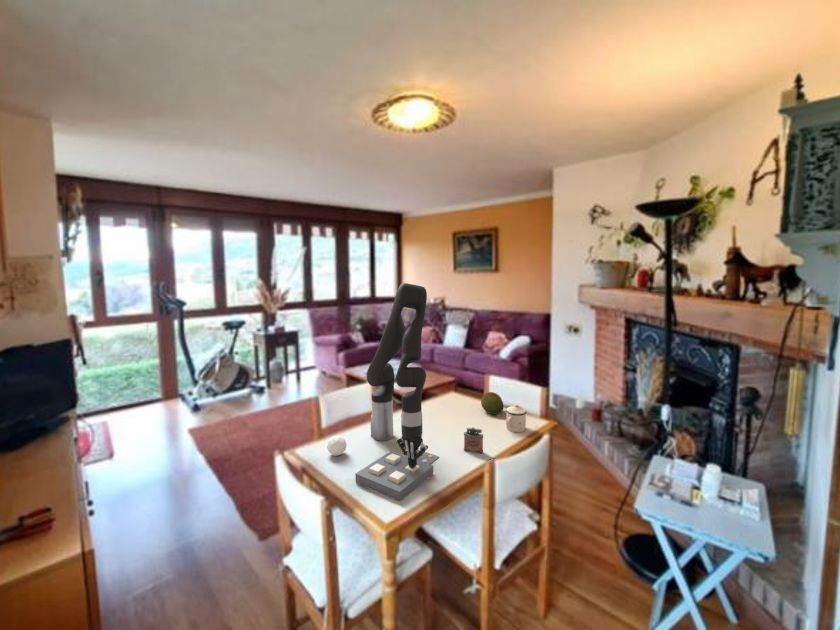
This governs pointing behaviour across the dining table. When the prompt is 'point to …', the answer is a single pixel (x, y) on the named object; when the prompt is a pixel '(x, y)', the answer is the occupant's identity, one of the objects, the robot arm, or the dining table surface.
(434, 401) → the dining table surface
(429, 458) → the pattern card
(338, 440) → the geometric ball
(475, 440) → the lighter
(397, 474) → the button
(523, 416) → the teacup with lid
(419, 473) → the button box
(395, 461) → the button
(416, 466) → the button
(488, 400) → the fruit
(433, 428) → the dining table surface
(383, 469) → the button
